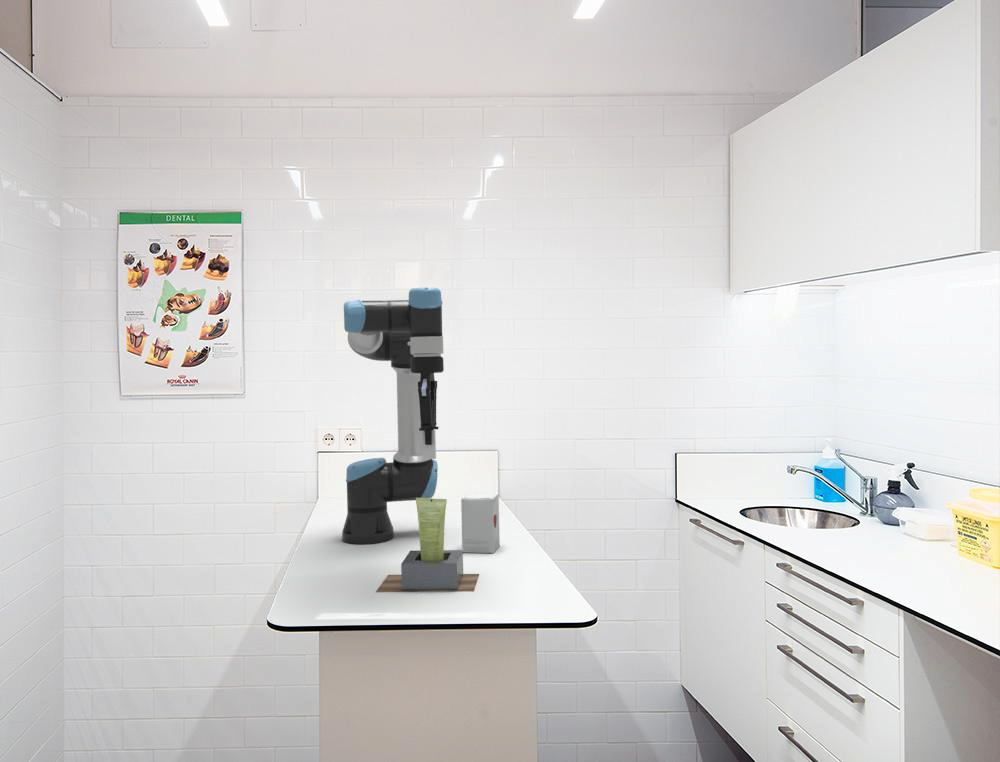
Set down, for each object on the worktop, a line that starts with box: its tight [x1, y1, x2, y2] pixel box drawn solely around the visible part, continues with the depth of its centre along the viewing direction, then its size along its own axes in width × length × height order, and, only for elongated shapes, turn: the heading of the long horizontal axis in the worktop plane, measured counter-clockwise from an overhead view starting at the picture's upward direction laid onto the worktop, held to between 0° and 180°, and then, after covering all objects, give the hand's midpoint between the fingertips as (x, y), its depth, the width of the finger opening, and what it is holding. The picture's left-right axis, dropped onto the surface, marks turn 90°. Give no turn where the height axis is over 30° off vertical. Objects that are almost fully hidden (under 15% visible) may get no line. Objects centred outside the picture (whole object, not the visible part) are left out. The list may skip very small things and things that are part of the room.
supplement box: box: [460, 492, 501, 554], centre depth 218 cm, size 9×9×15 cm
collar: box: [400, 549, 464, 590], centre depth 182 cm, size 12×12×6 cm
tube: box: [415, 498, 448, 561], centre depth 182 cm, size 6×5×20 cm
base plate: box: [375, 573, 480, 593], centre depth 182 cm, size 14×22×1 cm, turn 86°
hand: (429, 458), depth 182 cm, fingers closed
